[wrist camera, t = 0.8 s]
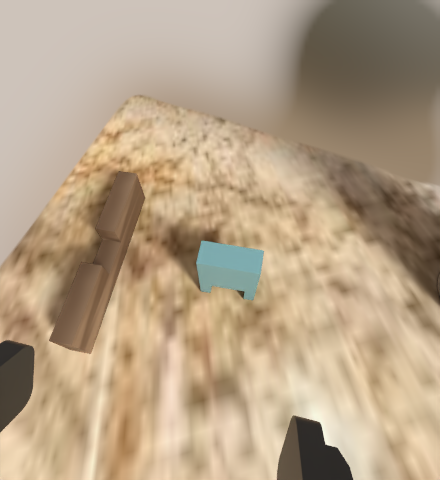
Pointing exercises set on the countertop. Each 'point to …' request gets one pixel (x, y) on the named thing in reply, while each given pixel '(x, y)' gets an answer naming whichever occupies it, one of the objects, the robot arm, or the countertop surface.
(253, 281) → the teal notched bridge block
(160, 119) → the countertop surface
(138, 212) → the walnut slotted plate
